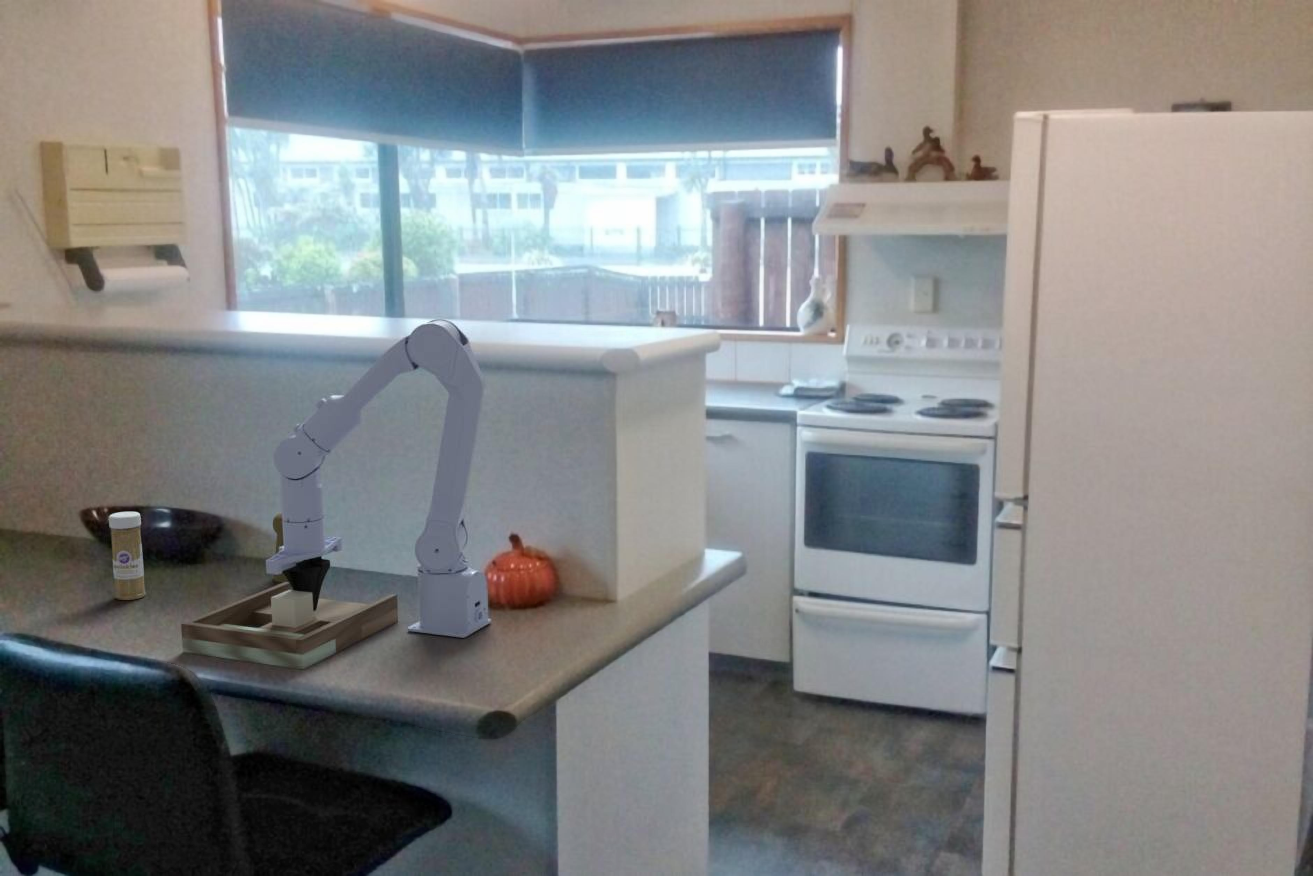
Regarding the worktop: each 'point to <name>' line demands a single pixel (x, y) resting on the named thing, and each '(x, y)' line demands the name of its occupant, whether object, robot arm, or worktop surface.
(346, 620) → the box
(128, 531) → the sprinkles bottle
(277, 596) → the cream cube
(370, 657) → the worktop surface
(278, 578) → the cork
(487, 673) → the worktop surface
